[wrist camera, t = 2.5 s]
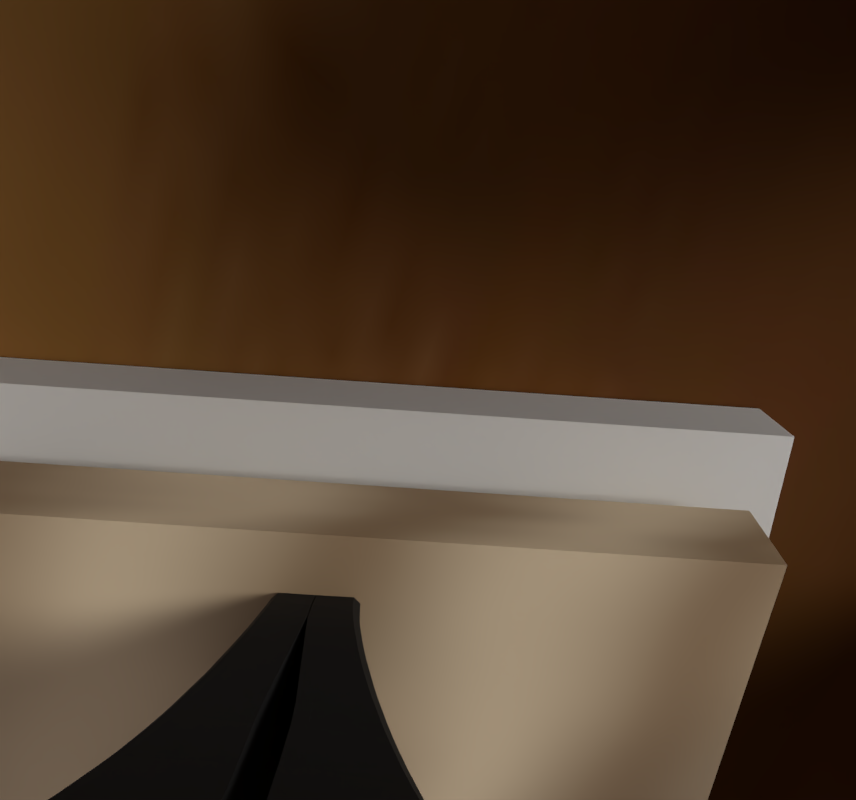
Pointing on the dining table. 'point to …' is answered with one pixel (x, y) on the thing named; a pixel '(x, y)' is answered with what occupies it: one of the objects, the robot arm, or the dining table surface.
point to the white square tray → (392, 435)
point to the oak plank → (387, 622)
